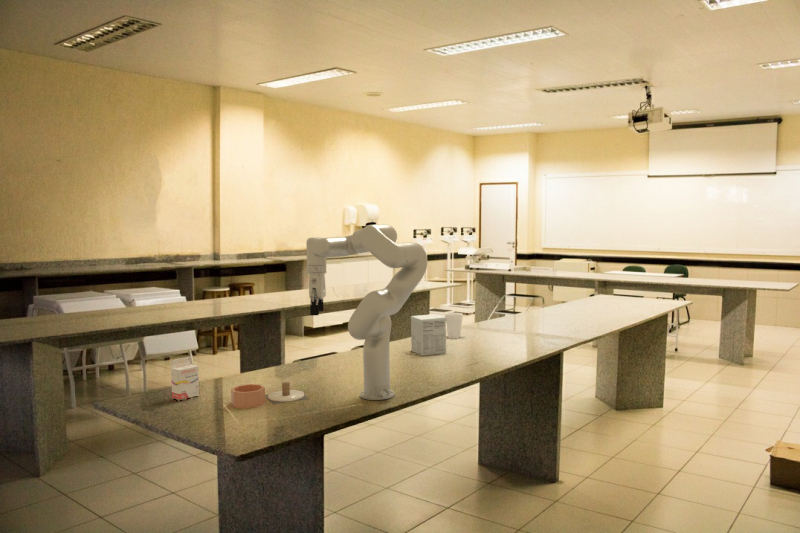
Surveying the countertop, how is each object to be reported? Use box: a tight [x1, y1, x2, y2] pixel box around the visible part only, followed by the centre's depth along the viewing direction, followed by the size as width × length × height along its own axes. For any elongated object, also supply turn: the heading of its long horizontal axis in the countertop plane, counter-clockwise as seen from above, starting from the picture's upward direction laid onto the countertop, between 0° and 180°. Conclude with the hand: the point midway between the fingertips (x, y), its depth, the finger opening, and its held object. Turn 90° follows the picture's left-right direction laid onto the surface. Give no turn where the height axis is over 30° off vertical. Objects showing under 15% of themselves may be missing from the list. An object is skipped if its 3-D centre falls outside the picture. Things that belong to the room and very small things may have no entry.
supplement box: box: [410, 313, 447, 356], centre depth 301 cm, size 13×13×18 cm
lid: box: [267, 381, 305, 403], centre depth 226 cm, size 13×13×5 cm
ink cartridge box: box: [170, 356, 200, 399], centre depth 229 cm, size 9×5×15 cm, turn 141°
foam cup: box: [444, 312, 463, 340], centre depth 339 cm, size 10×9×13 cm
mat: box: [265, 394, 310, 405], centre depth 226 cm, size 13×13×1 cm
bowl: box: [230, 383, 266, 409], centre depth 219 cm, size 11×11×6 cm
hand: (317, 313), depth 242 cm, fingers open, 9 cm apart
